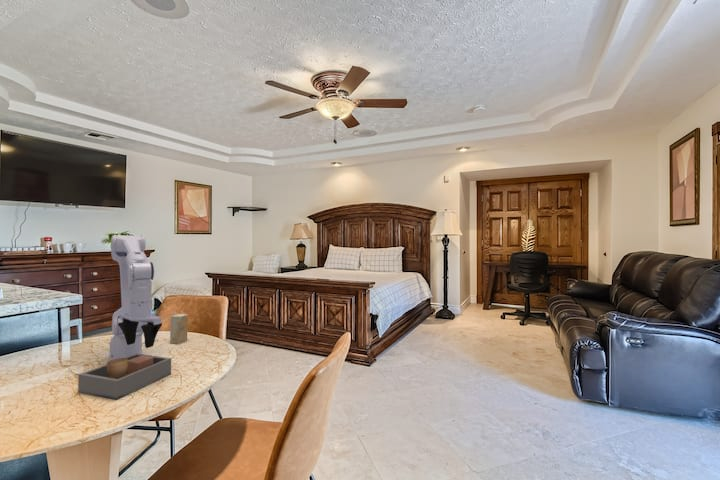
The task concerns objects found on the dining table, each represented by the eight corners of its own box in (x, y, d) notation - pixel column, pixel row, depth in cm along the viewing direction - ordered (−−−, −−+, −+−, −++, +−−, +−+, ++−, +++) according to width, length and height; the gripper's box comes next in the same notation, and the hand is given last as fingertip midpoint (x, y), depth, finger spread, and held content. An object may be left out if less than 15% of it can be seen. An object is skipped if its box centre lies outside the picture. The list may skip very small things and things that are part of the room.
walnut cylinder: (103, 386, 98) (103, 361, 98) (122, 380, 103) (123, 356, 102) (111, 390, 96) (111, 365, 96) (131, 384, 100) (131, 360, 100)
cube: (126, 377, 105) (126, 360, 104) (141, 371, 109) (141, 355, 109) (138, 379, 103) (138, 363, 103) (153, 373, 108) (153, 357, 108)
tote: (78, 392, 96) (78, 374, 95) (136, 368, 113) (136, 353, 113) (116, 399, 92) (116, 381, 92) (171, 374, 109) (171, 358, 109)
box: (178, 344, 138) (179, 316, 138) (169, 343, 139) (169, 316, 139) (187, 340, 143) (188, 314, 143) (178, 339, 144) (179, 313, 144)
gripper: (169, 301, 107) (169, 344, 108) (135, 297, 112) (134, 339, 112) (149, 305, 101) (149, 351, 101) (113, 301, 105) (113, 345, 105)
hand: (140, 345), depth 106 cm, fingers open, 7 cm apart
